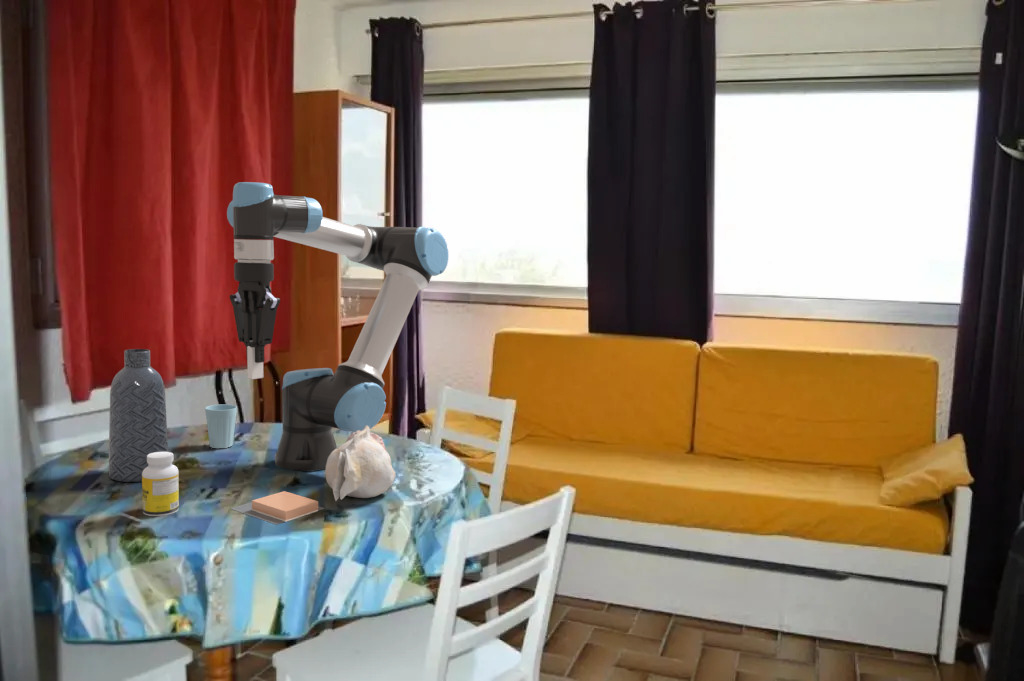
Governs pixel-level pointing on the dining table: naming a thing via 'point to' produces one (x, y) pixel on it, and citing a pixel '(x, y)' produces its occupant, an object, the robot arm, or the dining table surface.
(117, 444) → the vase
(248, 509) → the mat
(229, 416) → the cup
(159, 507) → the pill bottle
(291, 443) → the robot arm
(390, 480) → the white garlic bulb
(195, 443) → the dining table surface
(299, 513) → the tile
